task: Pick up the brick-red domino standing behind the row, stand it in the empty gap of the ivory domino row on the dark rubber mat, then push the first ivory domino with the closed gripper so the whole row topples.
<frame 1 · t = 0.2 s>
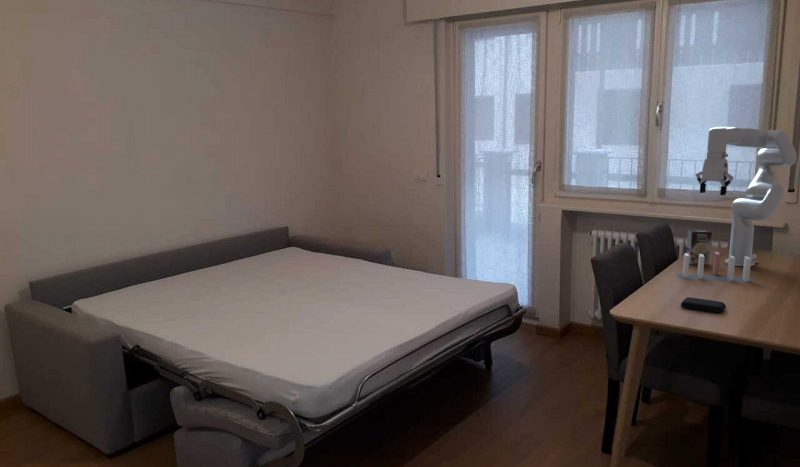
hand: (712, 193, 279), 36 cm above the table, tool pointing down, fingers open, 9 cm apart
domino mat: (714, 279, 272), on the table
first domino: (685, 276, 276), resting on domino mat
red domino: (715, 274, 279), on the table
carrying case or bag: (703, 309, 234), on the table
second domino: (699, 277, 274), resting on domino mat
coffee box: (696, 263, 300), on the table
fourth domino: (730, 279, 270), resting on domino mat
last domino: (745, 280, 268), resting on domino mat
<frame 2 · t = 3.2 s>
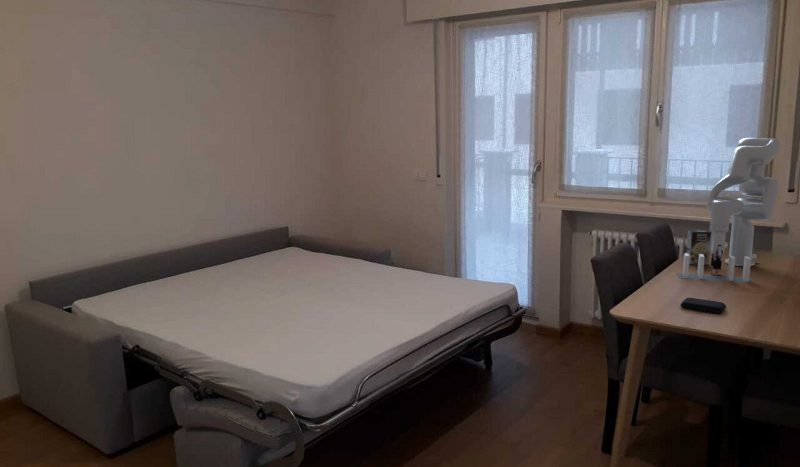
hand: (715, 267, 279), 3 cm above the table, tool pointing down, fingers closed on red domino, 4 cm apart
red domino: (715, 274, 279), on the table, touching gripper
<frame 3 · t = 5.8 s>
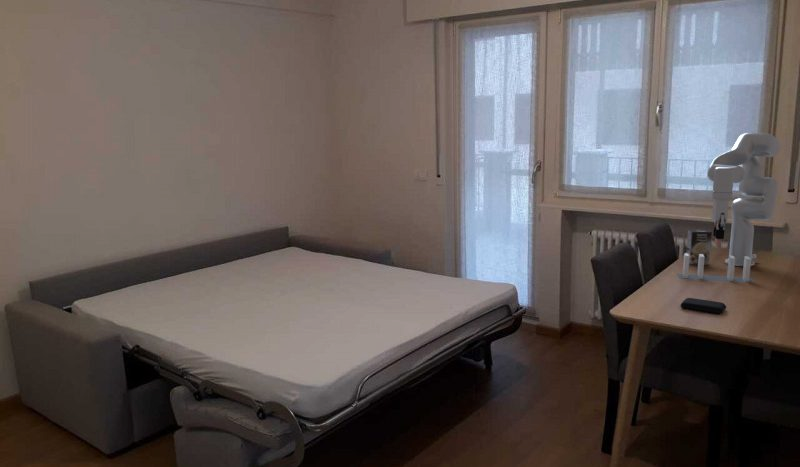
hand: (718, 237, 268), 19 cm above the table, tool pointing down, fingers closed on red domino, 4 cm apart
red domino: (717, 244, 269), point 15 cm above the table, touching gripper
when the fingers open (5 cm above the table, at t = 8.7 s): red domino stays where it is, resting on domino mat.
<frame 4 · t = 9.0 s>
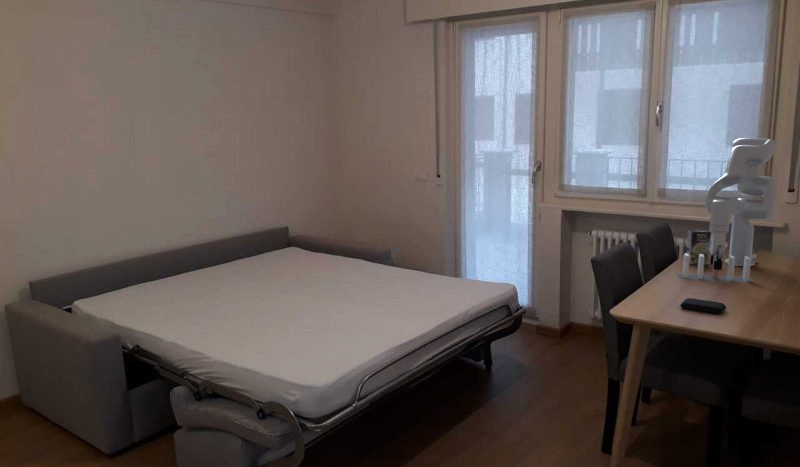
hand: (715, 267, 271), 5 cm above the table, tool pointing down, fingers open, 8 cm apart
red domino: (714, 278, 272), resting on domino mat
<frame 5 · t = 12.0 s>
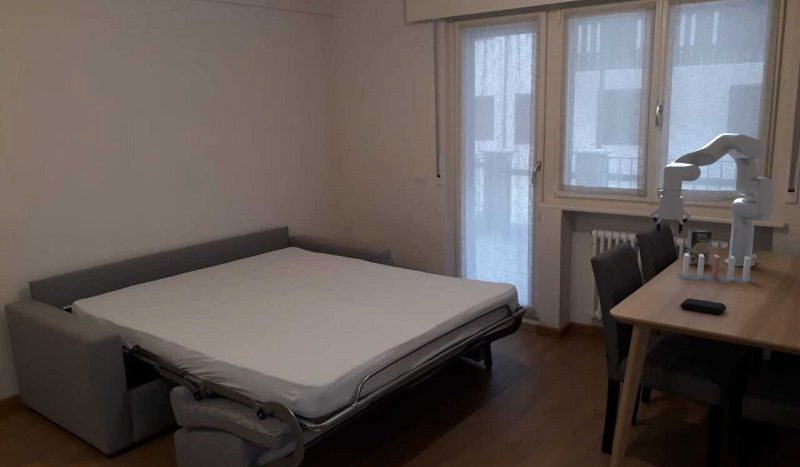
hand: (668, 232, 274), 20 cm above the table, tool pointing down, fingers open, 7 cm apart
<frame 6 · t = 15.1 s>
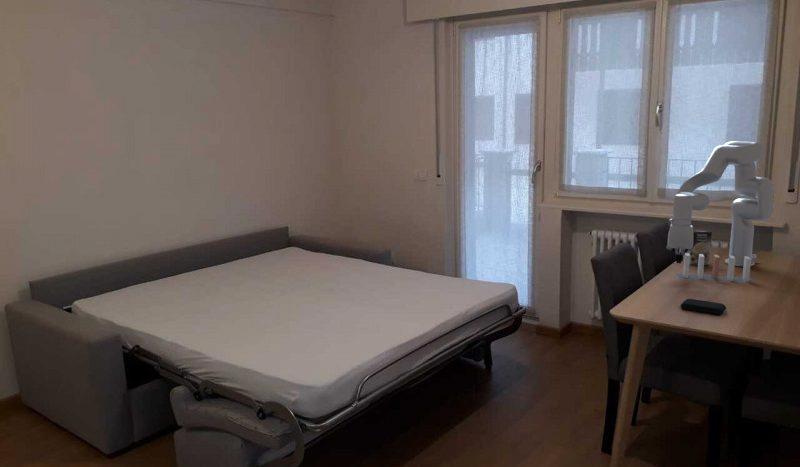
hand: (678, 262, 275), 6 cm above the table, tool pointing down, fingers closed
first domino: (685, 276, 276), resting on domino mat, touching gripper
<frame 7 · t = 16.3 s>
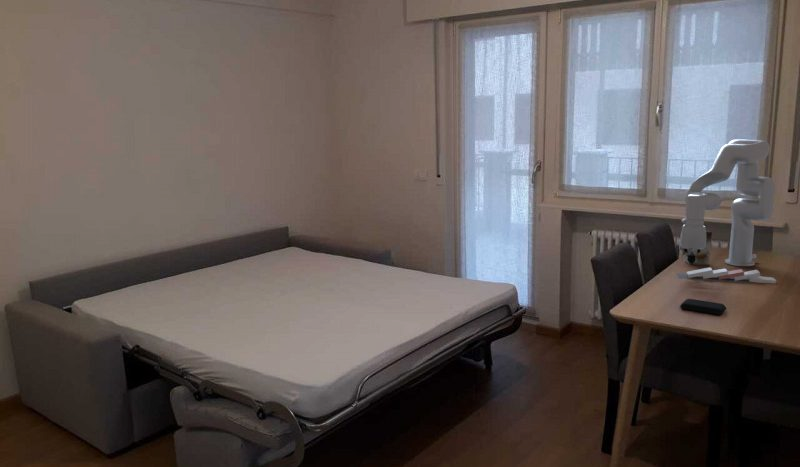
hand: (691, 263, 274), 7 cm above the table, tool pointing down, fingers closed
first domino: (687, 274, 275), point 1 cm above the table, tilted 74°, touching domino mat, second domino
red domino: (717, 276, 271), point 1 cm above the table, tilted 74°, touching domino mat, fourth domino, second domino
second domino: (702, 275, 273), point 1 cm above the table, tilted 75°, touching domino mat, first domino, red domino
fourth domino: (733, 277, 270), point 1 cm above the table, tilted 73°, touching domino mat, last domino, red domino
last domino: (748, 278, 268), point 1 cm above the table, tilted 93°, touching domino mat, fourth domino
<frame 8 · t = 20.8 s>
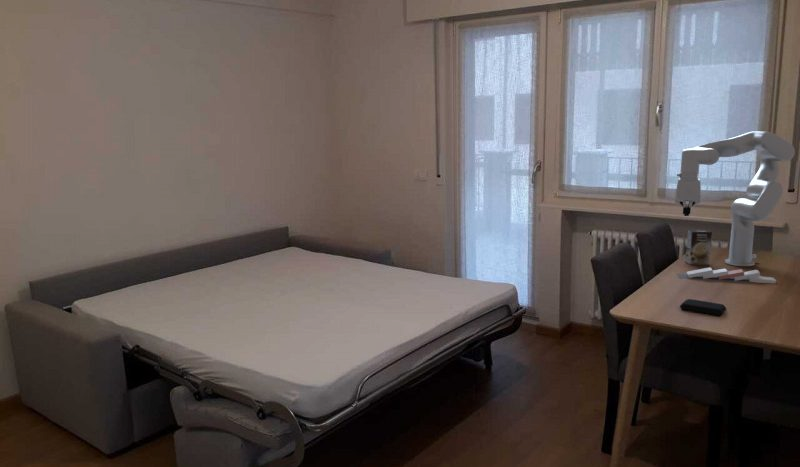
hand: (686, 215, 286), 25 cm above the table, tool pointing down, fingers closed
at the end: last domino tilted 93°; red domino 1.1 cm off-centre on the domino mat, point 1.2 cm above the domino mat's base; red domino tilted 74° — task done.
